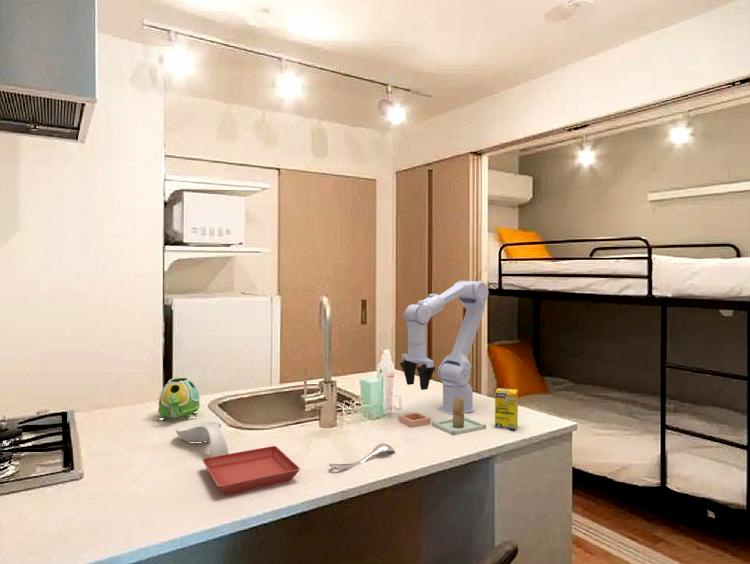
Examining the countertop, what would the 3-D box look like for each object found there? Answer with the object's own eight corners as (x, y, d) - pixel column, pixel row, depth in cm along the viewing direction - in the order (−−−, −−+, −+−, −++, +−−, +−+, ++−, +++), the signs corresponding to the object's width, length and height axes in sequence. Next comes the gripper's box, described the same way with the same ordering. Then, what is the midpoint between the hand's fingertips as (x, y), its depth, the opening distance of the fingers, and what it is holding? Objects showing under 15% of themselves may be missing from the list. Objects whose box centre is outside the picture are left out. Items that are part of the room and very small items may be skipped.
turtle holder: (149, 428, 150) (148, 388, 150) (164, 411, 168) (163, 375, 168) (192, 426, 152) (192, 386, 152) (203, 409, 170) (202, 374, 170)
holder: (417, 419, 158) (417, 412, 158) (430, 425, 152) (430, 418, 152) (399, 422, 155) (399, 415, 155) (411, 428, 149) (411, 421, 149)
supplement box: (494, 428, 149) (494, 392, 149) (497, 423, 155) (497, 387, 154) (515, 431, 147) (515, 393, 146) (517, 425, 152) (518, 389, 152)
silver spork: (336, 459, 116) (324, 453, 119) (336, 475, 116) (324, 469, 119) (399, 444, 129) (386, 439, 133) (398, 458, 129) (386, 453, 133)
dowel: (459, 424, 152) (460, 397, 151) (465, 427, 149) (466, 400, 148) (450, 425, 150) (451, 398, 150) (456, 428, 147) (457, 401, 147)
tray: (463, 420, 157) (463, 416, 157) (486, 429, 148) (486, 425, 148) (432, 426, 151) (432, 422, 151) (453, 436, 142) (453, 431, 142)
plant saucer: (201, 471, 119) (201, 457, 119) (275, 457, 128) (275, 444, 128) (218, 502, 104) (218, 486, 103) (301, 483, 112) (301, 469, 112)
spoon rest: (171, 438, 142) (170, 413, 142) (212, 430, 149) (212, 406, 149) (197, 465, 123) (196, 436, 123) (243, 454, 130) (243, 426, 129)
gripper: (393, 341, 162) (393, 383, 162) (419, 347, 149) (419, 393, 149) (412, 339, 165) (412, 381, 165) (439, 345, 152) (439, 390, 153)
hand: (417, 386), depth 158 cm, fingers open, 7 cm apart
